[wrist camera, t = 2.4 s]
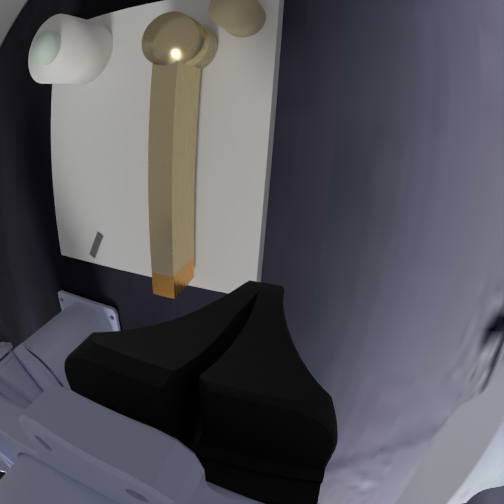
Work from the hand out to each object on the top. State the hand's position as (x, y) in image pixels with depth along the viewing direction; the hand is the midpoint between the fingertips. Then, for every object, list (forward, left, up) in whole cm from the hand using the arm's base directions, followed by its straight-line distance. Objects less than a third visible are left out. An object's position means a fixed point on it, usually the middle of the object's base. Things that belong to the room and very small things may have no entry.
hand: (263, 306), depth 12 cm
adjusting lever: (+4, +7, -8) cm, 12 cm away
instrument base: (+5, +11, -10) cm, 16 cm away
